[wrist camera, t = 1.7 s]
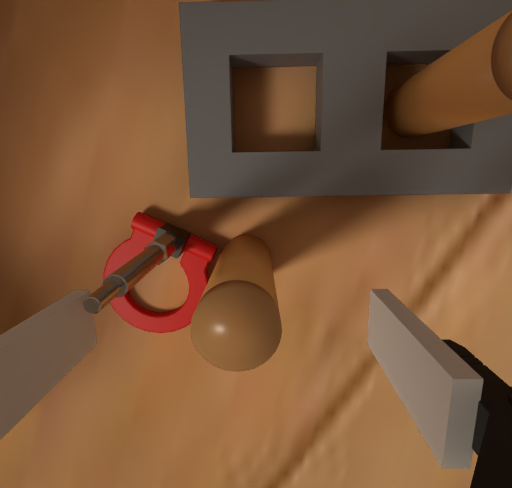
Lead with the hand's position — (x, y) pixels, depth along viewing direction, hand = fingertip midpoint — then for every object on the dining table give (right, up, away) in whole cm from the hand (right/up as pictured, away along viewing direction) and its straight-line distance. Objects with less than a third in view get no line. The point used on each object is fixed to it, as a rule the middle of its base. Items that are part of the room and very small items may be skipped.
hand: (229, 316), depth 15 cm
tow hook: (-7, +1, +12) cm, 13 cm away
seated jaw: (+13, +13, +8) cm, 20 cm away
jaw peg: (0, +2, +11) cm, 11 cm away
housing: (+8, +13, +8) cm, 17 cm away
